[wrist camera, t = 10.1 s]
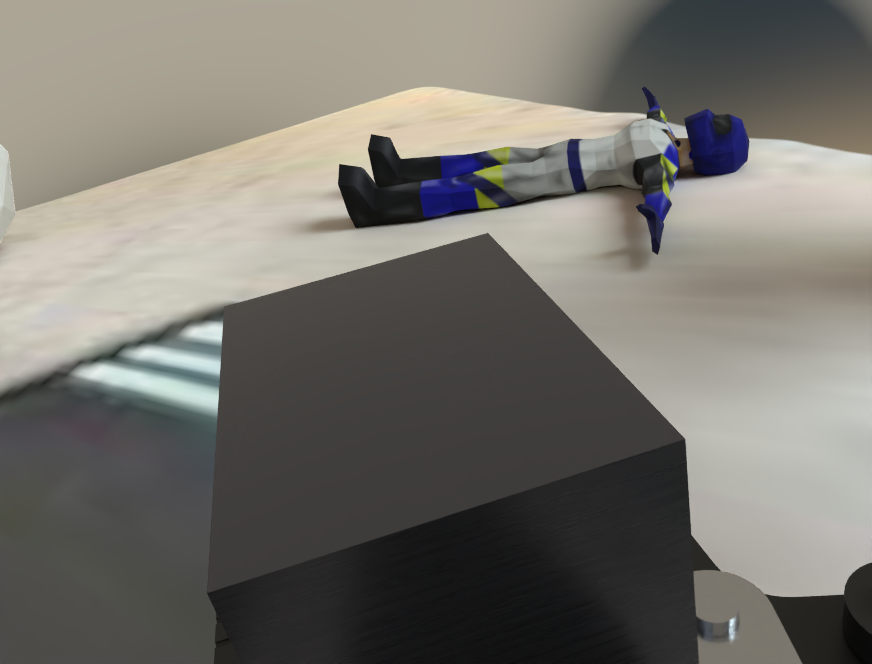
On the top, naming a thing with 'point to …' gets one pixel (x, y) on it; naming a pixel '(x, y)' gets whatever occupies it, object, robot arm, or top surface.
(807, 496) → the top surface
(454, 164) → the toy
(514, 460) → the dark grey tall block
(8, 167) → the geometric sphere
